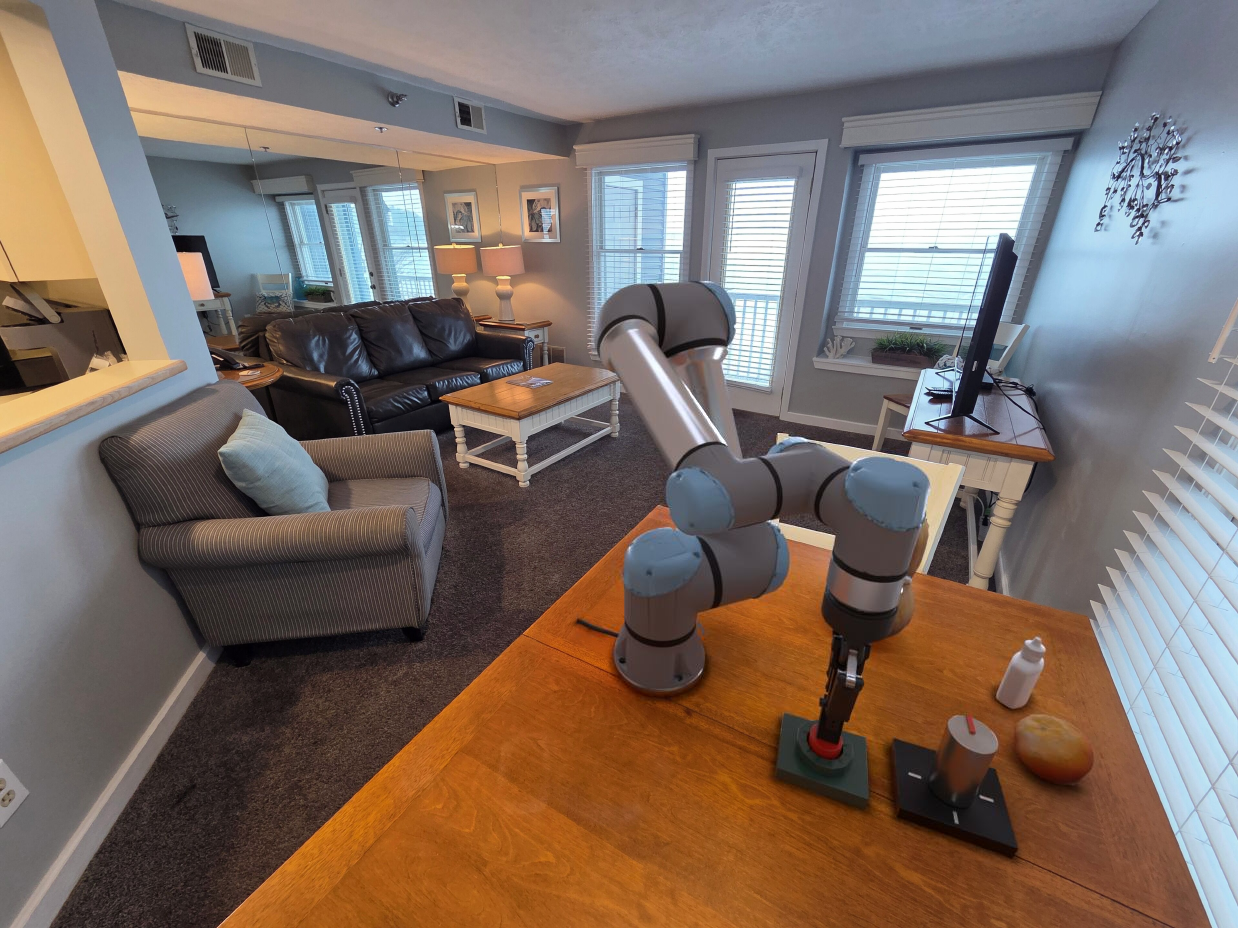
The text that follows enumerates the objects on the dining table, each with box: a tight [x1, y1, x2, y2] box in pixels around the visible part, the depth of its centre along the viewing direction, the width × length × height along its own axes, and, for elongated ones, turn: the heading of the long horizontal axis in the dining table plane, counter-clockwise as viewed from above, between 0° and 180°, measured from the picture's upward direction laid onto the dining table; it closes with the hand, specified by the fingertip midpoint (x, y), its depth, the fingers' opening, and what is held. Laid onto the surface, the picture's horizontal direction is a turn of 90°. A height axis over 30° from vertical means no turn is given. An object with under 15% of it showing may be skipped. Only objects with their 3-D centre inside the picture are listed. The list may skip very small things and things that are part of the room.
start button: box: [808, 724, 843, 760], centre depth 66 cm, size 4×4×2 cm
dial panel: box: [889, 737, 1019, 859], centre depth 63 cm, size 12×10×2 cm
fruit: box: [1013, 713, 1095, 787], centre depth 66 cm, size 8×8×8 cm
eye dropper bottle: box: [995, 636, 1046, 710], centre depth 75 cm, size 4×6×12 cm
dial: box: [927, 714, 999, 808], centre depth 61 cm, size 5×5×10 cm
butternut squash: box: [885, 517, 930, 639], centre depth 86 cm, size 14×13×25 cm
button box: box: [774, 711, 870, 811], centre depth 67 cm, size 11×9×4 cm
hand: (827, 736), depth 66 cm, fingers closed
